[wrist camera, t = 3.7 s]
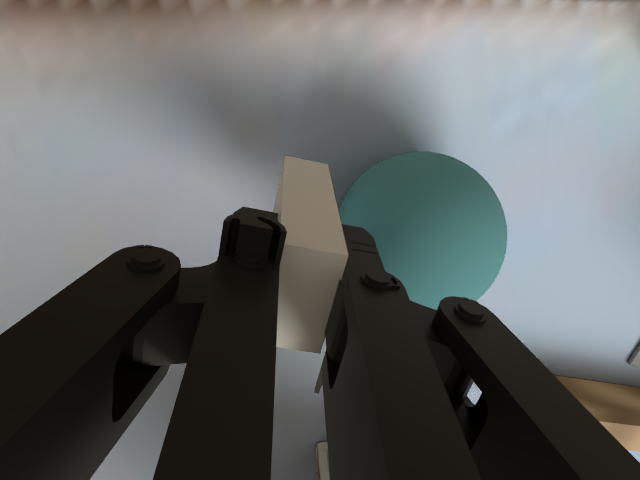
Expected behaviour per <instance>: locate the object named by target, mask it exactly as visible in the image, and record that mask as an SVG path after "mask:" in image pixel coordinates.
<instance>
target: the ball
mask: <svg viewBox="0 0 640 480" xmlns="http://www.w3.org/2000/svg"><path fill="white" fill-rule="evenodd" d="M338 212H339V216H340V220H341V224H345V225H350V226H356V227H361V228H364V229H365V230H366V231H367V232H368V233H369V234H371V235H372V236H373V238H374V241H375V243H376V248H377V249H378V252H379V255H380V258H381V260H382V263H383V266H384V269H385V271H386V272H388V273H390V274H392V275H393V276H395V277H396V278H397V279H399V280H400V281H401V282H402V284H403V285H404V287H405V289H406V291H407V294H408V296H409V299H410V300H411V301H413V302H415V303H418V304H421V305H423V306H426V307H429V308H432V309H435V310H437V308H438V306H439V303H440V301H441V300H442V299H443V298H445V297H451V296H456V297H465V298H469V300H470V299H472V300H474V301H477V300H478V299H479V298H480V297H481V296H482V295H483V294H484V293H485V292H486V291H487V290H488V289H489V287H490V286H491V284H492V283H493V282H494V280H495V278H496V276H497V275H498V273H499V270H500V268H501V266H502V263H503V260H504V257H505V253H506V245H507V226H506V220H505V215H504V212H503V209H502V206H501V203H500V201H499V199H498V198H497V196H496V194H495V192H494V190H493V189H492V187H491V186H490V185H489V184H488V182H487V181H486V180H485V179H484V178H483V177H482V176H481V175H480V174H479V173H478V172H477V171H476V170H474V169H473V168H471V167H470V166H468V165H467V164H465V163H463V162H461V161H459V160H457V159H455V158H453V157H450V156H447V155H443V154H439V153H433V152H409V153H403V154H399V155H395V156H392V157H389V158H387V159H384V160H382V161H380V162H378V163H377V164H375V165H373V166H372V167H371V168H369V169H368V170H366V171H365V172H364V173H363V174H362V175H361V176H360V177H359V178H358V179H357V180H356V181H355V182H354V183H353V184H352V186H351V187H350V189H349V190H348V192H347V193H346V195H345V197H344V199H343V200H342V202H341V205H340V208H339V210H338Z"/></svg>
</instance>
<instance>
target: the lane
mask: <svg viewBox="0 0 640 480" xmlns="http://www.w3.org/2000/svg"><path fill="white" fill-rule="evenodd" d="M554 376H555V377H556V378H557V379H558V380H559V381H560V382H561V383H562V384H563V385H564V386H565V387H566V388H567V389H568V390H569V391H570V392H571V393H572V394H573V395H574V396H575V397H576V398H577V399H578V401H579V402H580V403H581V404H582V405H583V406H584V407H585V408H586V409H587V410H588V411H589V412H590V413H591V414H592V415H593V416H594V417H595V418H596V419H597V420H598V421H599V422H600V423H601V424H602V425H603V426H604V427H605V428H606V429H607V430H608V431H609V432H610V433H611V434H612V435H613V436H614V437H615V438H616V439H617V440H618V441H619V442H620V443H621V445H622V446H623V447H624V448H625V449H626V450H634V451H640V387H633V386H626V385H619V384H612V383H605V382H598V381H591V380H584V379H577V378H570V377H563V376H556V375H554Z"/></svg>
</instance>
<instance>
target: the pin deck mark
mask: <svg viewBox="0 0 640 480" xmlns="http://www.w3.org/2000/svg"><path fill="white" fill-rule="evenodd" d="M627 363H628V364H629V365H633V366H640V344H639V346H638V347H637V349H636V350H635V352H634V353H633V355H632V356H631V358H630V359H629V361H628V362H627Z"/></svg>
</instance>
